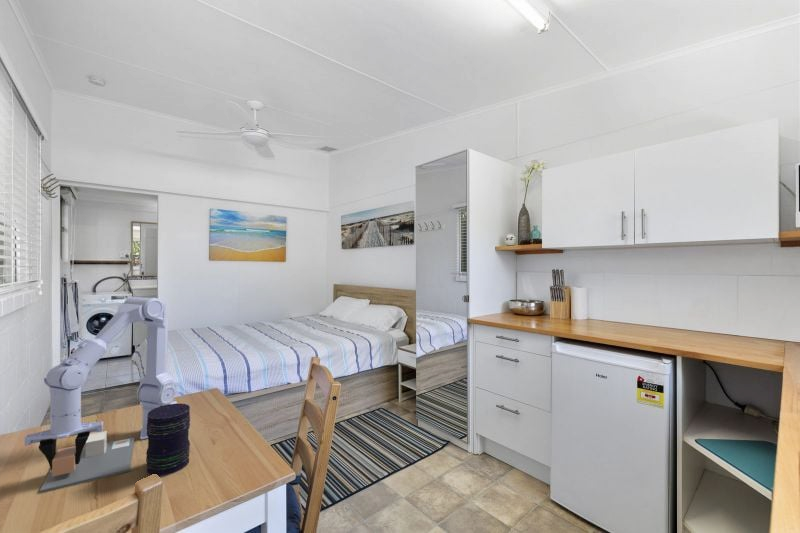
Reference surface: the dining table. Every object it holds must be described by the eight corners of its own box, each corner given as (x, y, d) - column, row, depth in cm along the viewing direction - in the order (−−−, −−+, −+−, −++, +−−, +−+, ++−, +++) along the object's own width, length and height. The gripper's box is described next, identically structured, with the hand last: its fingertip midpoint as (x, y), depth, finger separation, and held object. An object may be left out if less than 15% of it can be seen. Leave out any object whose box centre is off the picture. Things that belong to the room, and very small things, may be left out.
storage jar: (142, 480, 91) (143, 421, 91) (149, 460, 99) (149, 406, 99) (188, 470, 95) (189, 414, 95) (190, 452, 104) (191, 401, 104)
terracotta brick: (78, 460, 96) (78, 445, 95) (73, 471, 91) (73, 455, 90) (57, 464, 93) (57, 449, 93) (52, 476, 88) (52, 460, 88)
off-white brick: (106, 444, 106) (106, 430, 106) (104, 453, 101) (104, 439, 101) (89, 447, 104) (89, 433, 104) (85, 457, 99) (85, 442, 99)
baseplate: (134, 439, 111) (134, 436, 111) (129, 471, 94) (129, 468, 94) (59, 454, 102) (59, 451, 102) (39, 493, 85) (39, 490, 85)
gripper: (20, 425, 84) (20, 482, 85) (100, 411, 92) (100, 464, 93) (29, 413, 90) (29, 467, 90) (104, 402, 98) (103, 451, 98)
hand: (65, 465), depth 92 cm, fingers closed on terracotta brick, 4 cm apart
